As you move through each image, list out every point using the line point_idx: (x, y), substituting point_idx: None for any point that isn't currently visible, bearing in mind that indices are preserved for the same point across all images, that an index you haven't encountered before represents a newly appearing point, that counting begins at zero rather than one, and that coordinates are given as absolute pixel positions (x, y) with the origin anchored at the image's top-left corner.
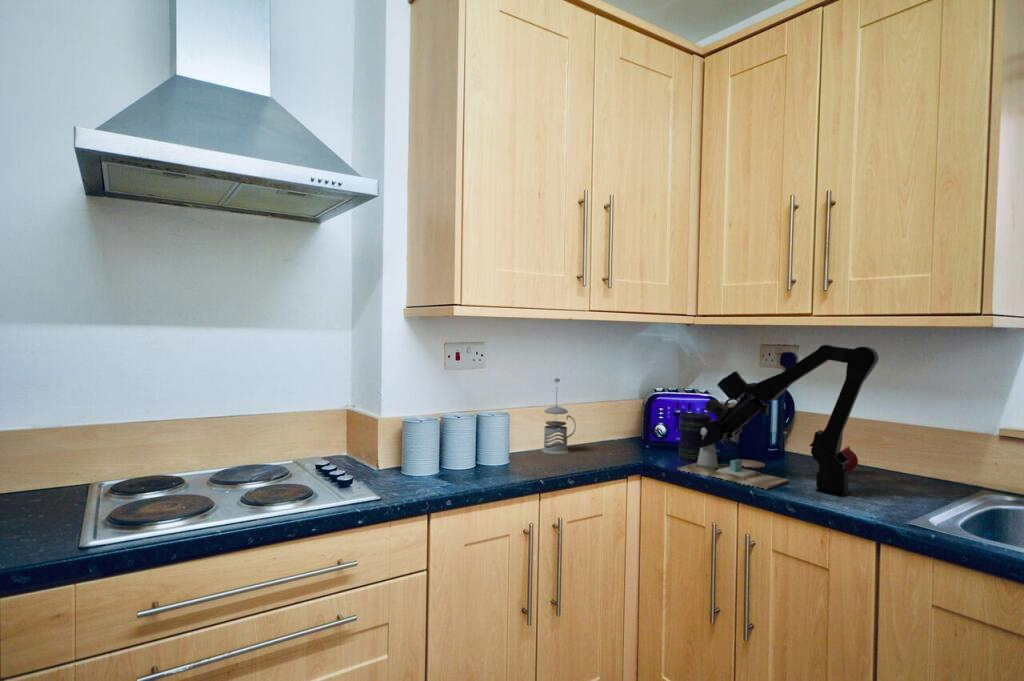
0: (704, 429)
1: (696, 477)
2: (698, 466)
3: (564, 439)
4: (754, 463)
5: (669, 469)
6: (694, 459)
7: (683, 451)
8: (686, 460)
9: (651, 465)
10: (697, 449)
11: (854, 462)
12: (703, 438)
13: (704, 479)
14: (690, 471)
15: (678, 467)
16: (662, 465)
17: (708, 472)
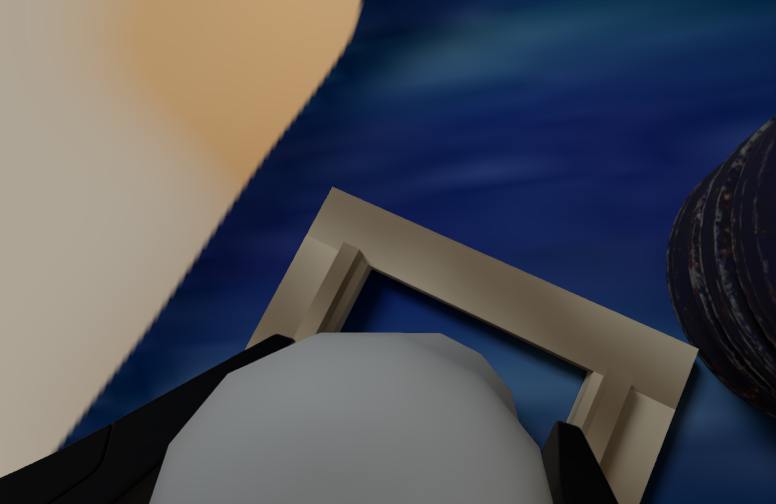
0: (192, 439)
1: (159, 354)
2: (528, 341)
3: None
4: None
5: (341, 137)
6: (692, 286)
7: (741, 149)
8: (689, 214)
9: (415, 4)
10: (759, 297)
11: None
12: (139, 411)
13: (116, 417)
14: (279, 295)
15: (338, 192)
16: (457, 68)
17: None
